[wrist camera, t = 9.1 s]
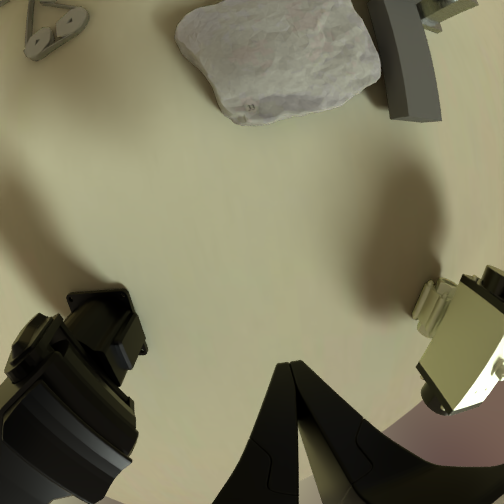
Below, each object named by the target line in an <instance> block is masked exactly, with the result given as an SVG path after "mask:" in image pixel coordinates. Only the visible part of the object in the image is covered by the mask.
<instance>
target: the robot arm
mask: <svg viewBox="0 0 504 504" xmlns="http://www.w3.org/2000/svg"><path fill="white" fill-rule="evenodd" d="M121 294H124V295H125V297H123V296H122V295H121ZM71 298H72V299H73V300H72V299H71ZM66 299H67V302H68V304H69V307H70V310H71V314H70V315H69V316H68V317H67V318H66V319H65V320H64V322H63V318H62V317H61V315H60V314H59V313H58V314H56V315H55V316H53V317H48V316H47V317H46V316H45V315H43V314H41V313H38V314H37V315H35V316H34V317H33V318H32V319H31V320H30V321H29V322H28V323H27V324H26V325H25V327H24V328H23V329H22V330H21V331H20V333H19V335H18V336H17V338H16V339H15V341H14V343H13V344H12V351H11V353H10V356H9V359H8V361H7V364H6V367H5V370H4V373H5V374H6V375H7V376H8V377H7V378H6V379H5V381H4V382H3V383H2V384H1V385H0V504H50V503H51V502H52V501H53V500H56V499H60V498H65V497H69V496H75V497H77V498H79V499H80V500H82V501H84V502H86V503H88V504H95V503H96V502H98V501H99V500H102V499H103V498H104V496H105V495H106V493H107V491H108V489H109V487H110V485H111V484H112V482H113V480H114V479H115V478H116V477H117V475H118V474H119V473H120V472H121V471H122V470H123V469H124V468H126V467H127V466H128V465H130V464H131V463H132V459H131V458H129V456H130V454H131V453H132V451H133V449H134V447H135V444H136V442H137V439H138V434H139V432H138V431H137V430H136V417H135V413H134V401H133V400H132V399H131V398H130V397H127V396H126V395H125V394H124V393H123V392H122V391H121V390H120V389H119V388H118V387H120V386H121V384H122V382H123V380H124V377H125V375H126V373H127V370H132V368H133V367H134V364H135V362H136V360H137V357H138V355H146V354H147V352H148V347H147V344H146V342H145V339H146V337H145V334H144V332H143V329H142V326H141V323H140V320H139V317H138V315H137V313H136V312H135V310H134V307H133V304H132V301H131V298H130V295H129V292H128V291H127V290H126V289H111V290H99V291H85V292H71V293H69V294H68V295H67V297H66ZM141 349H143V350H141ZM298 428H299V431H300V434H301V438H302V441H303V444H304V447H305V450H306V453H307V456H308V460H309V463H310V466H311V469H312V472H313V475H314V478H315V481H316V484H317V487H318V491H319V494H320V497H321V500H322V503H323V504H504V464H502V465H498V466H491V467H456V466H441V465H436V464H433V463H430V462H428V461H425V460H424V459H422V458H420V457H418V456H417V455H415V454H413V453H412V452H410V451H408V450H407V449H405V448H404V447H402V446H400V445H399V444H397V443H396V442H394V441H392V440H391V439H390V438H388V437H387V436H385V435H384V434H383V433H381V432H380V431H379V430H378V429H376V428H375V427H374V426H373V425H372V424H370V423H369V422H368V421H367V420H366V419H363V417H362V416H361V415H360V414H359V413H358V412H357V411H356V410H355V409H353V408H352V407H351V406H350V405H349V404H348V403H347V402H346V401H345V400H344V399H343V398H341V397H340V396H339V395H338V394H337V393H336V392H335V391H334V390H333V389H332V388H331V387H330V386H328V385H327V384H326V383H325V382H324V381H323V380H322V379H321V378H320V377H319V376H318V375H317V374H316V373H315V372H314V371H313V370H311V369H310V368H309V367H308V366H307V365H306V364H305V363H304V362H303V361H302V360H298V361H291V362H290V363H288V362H284V363H278V364H277V365H276V367H275V370H274V373H273V375H272V378H271V381H270V384H269V387H268V390H267V392H266V395H265V398H264V401H263V403H262V406H261V409H260V412H259V414H258V417H257V419H256V422H255V425H254V427H253V430H252V432H251V435H250V439H249V440H248V442H247V445H246V447H245V449H244V452H243V454H242V456H241V458H240V460H239V462H238V464H237V466H236V467H235V469H234V471H233V473H232V474H231V476H230V477H229V479H228V480H227V482H226V483H225V485H224V487H223V488H222V489H221V491H220V492H219V494H218V495H217V497H216V498H215V500H214V501H213V503H212V504H299V498H298V496H299V463H298Z"/></svg>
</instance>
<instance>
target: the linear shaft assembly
mask: <svg viewBox="0 0 504 504" xmlns="http://www.w3.org/2000/svg"><path fill="white" fill-rule="evenodd" d="M475 6H478V2H477V0H422V1H420V2H419V3H417V4H416V7H417V10H418V13H419V16H420V19H421V22H422V25H423V28H424V29H426V30H429V31H432V32H435V33H439V32H442V28H441V25H440V22H442V21H444V20H446V19H448V18H450V17H452V16H454V15H457V14H459V13H461V12H463V11H466V10H468V9H470V8H473V7H475Z"/></svg>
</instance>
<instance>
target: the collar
mask: <svg viewBox="0 0 504 504" xmlns="http://www.w3.org/2000/svg"><path fill="white" fill-rule="evenodd" d="M420 1H422V0H370V1H369V2H368V3H367V6H368V9H369V13H370V16H371V20H372V24H373V27H374V31H375V35H376V39H377V44H378V48H379V53H380V57H381V62H382V68H383V73H384V79H385V85H386V91H387V98H388V106H389V114H390V119H394V120H404V121H413V122H421V123H423V122H435V121H442V118H441V109H440V102H439V95H438V89H437V83H436V77H435V72H434V67H433V63H432V58H431V54H430V50H429V46H428V42H427V39H426V35H425V32H424V28H423V25H422V22H421V19H420V16H419V13H418V10H417V7H416V4H417V3H419V2H420Z"/></svg>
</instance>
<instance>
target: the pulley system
mask: <svg viewBox="0 0 504 504" xmlns="http://www.w3.org/2000/svg"><path fill="white" fill-rule="evenodd" d="M8 1H9V0H1V1H0V7H1V6H2V5H4V4H5V3H6V2H8ZM39 1H40V3H41V4H42V5H44V6H52V7H59V8H65V9H71V10H69V11H68V12H67V13H66V14H65V15H64V16H63V17H62V18H61V19H60V20H59V21H58V22H57V23H56V34H57V37H62V39H60V40H58V41H57V42H55V43H54V41H55V40H54V35H53V32H52V31H51V29H50V27H42V28H41V29H40V30H39V31H37V32H36V33H35V34H34V35H32V21H33V8H34V0H29V4H28V12H27V22H26V36H25V49H24V53H25V55H26V57H28V58H30V59H31V60H33V61H38V60H40V59H42V58H44V57H45V56H46V55H48V54H49V53H50V52H52V51H53V50H55V49H56V48H58V47H59V46H61V45H62V44H64V43H65V42H67V41H68V40H70V39H71V38H73V37H75V36H76V35H78V34H79V33H80V32H81V31H82V30H83V29H84V28H85V26H86V25H87V23H88V21H89V13H88V11H87V10H86V9H84V8H83V7H76V6H69V5H62V4H53V3H54V2H55V1H57V0H39Z"/></svg>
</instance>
